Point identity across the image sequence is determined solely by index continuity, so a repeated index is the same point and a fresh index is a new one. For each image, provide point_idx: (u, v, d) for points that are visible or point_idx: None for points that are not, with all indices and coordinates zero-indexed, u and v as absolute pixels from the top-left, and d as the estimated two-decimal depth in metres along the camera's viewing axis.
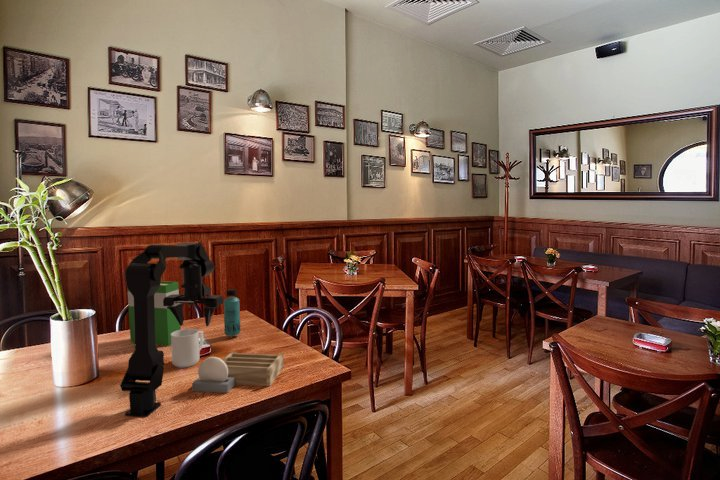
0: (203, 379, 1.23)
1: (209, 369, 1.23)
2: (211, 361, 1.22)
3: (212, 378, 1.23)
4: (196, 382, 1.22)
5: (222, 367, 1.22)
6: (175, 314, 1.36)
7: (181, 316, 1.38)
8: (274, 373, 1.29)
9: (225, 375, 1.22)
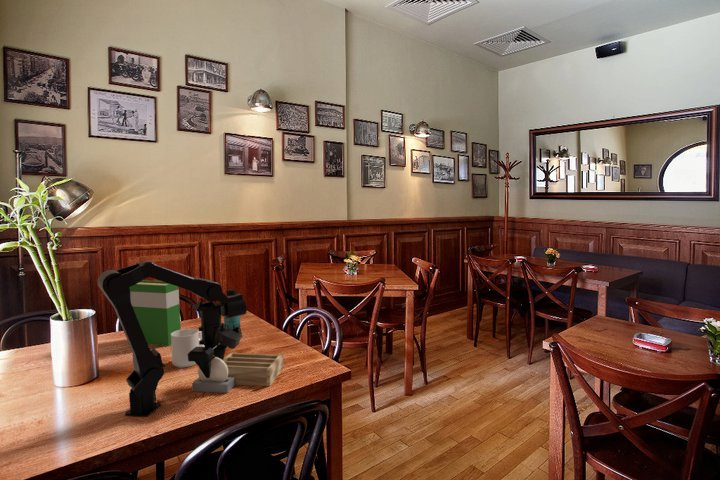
0: (203, 379, 1.23)
1: None
2: (211, 361, 1.22)
3: (212, 378, 1.23)
4: (196, 382, 1.22)
5: (222, 367, 1.22)
6: None
7: (219, 356, 1.27)
8: (274, 373, 1.29)
9: (225, 375, 1.22)
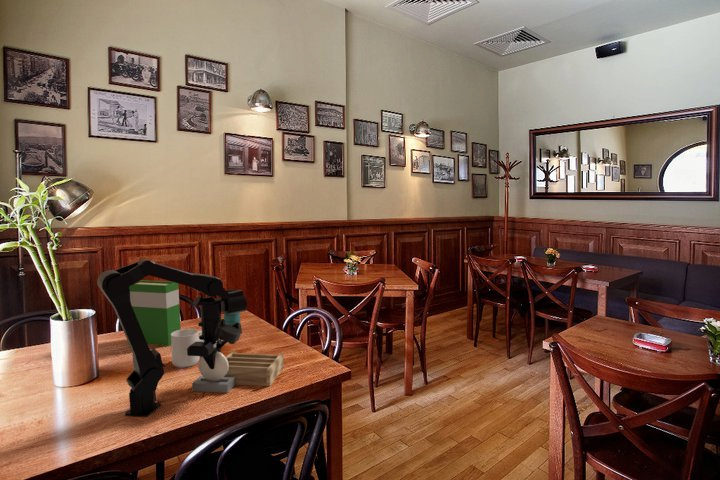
0: (203, 373, 1.23)
1: None
2: None
3: (212, 372, 1.23)
4: (196, 382, 1.22)
5: (222, 361, 1.22)
6: None
7: None
8: (274, 373, 1.29)
9: (225, 369, 1.22)
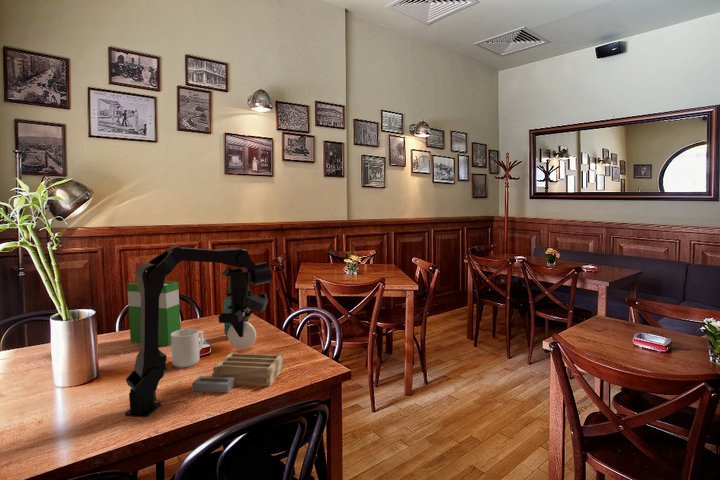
0: (232, 342, 1.30)
1: None
2: None
3: (241, 341, 1.29)
4: (196, 382, 1.22)
5: (250, 330, 1.28)
6: None
7: None
8: (274, 373, 1.29)
9: (253, 338, 1.29)
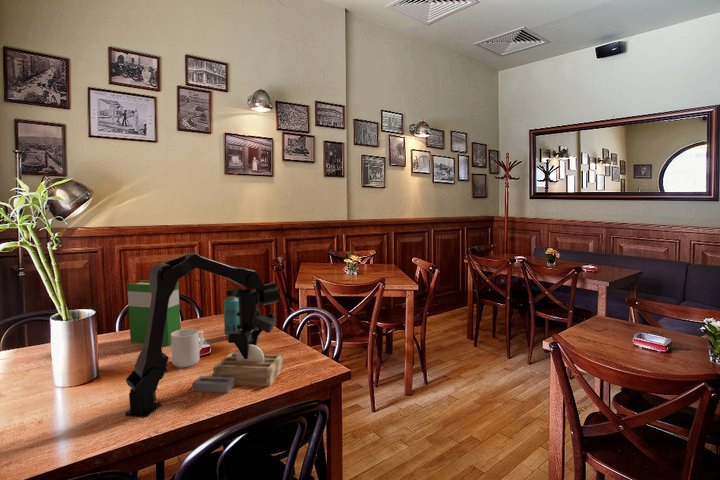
0: None
1: None
2: None
3: None
4: (196, 382, 1.22)
5: (258, 354, 1.31)
6: None
7: (252, 342, 1.35)
8: (274, 373, 1.29)
9: None
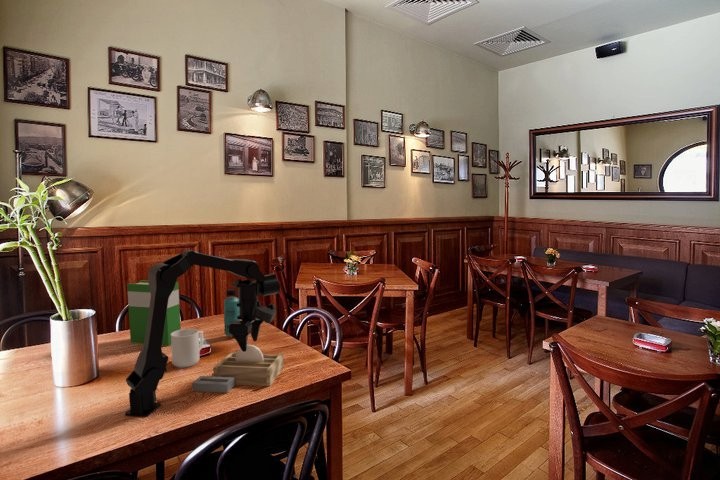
0: None
1: (246, 356, 1.32)
2: (247, 348, 1.31)
3: None
4: (196, 382, 1.22)
5: (257, 354, 1.31)
6: None
7: (254, 332, 1.36)
8: (274, 373, 1.29)
9: (261, 361, 1.31)
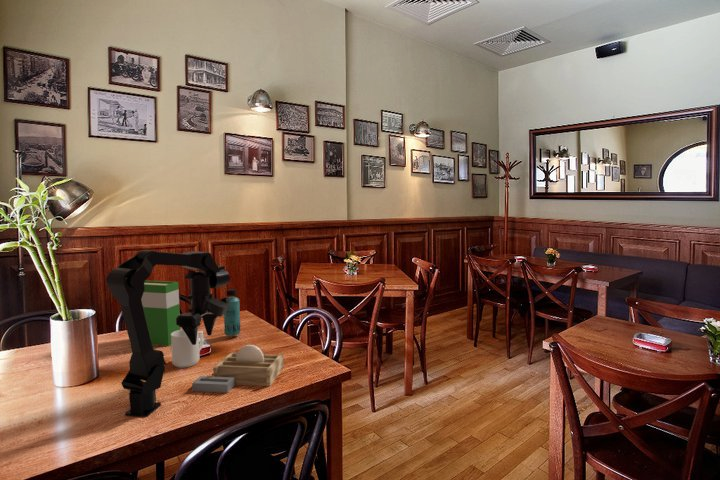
0: None
1: (246, 356, 1.32)
2: (248, 348, 1.31)
3: None
4: (196, 382, 1.22)
5: (258, 354, 1.31)
6: None
7: (208, 326, 1.34)
8: (274, 373, 1.29)
9: None
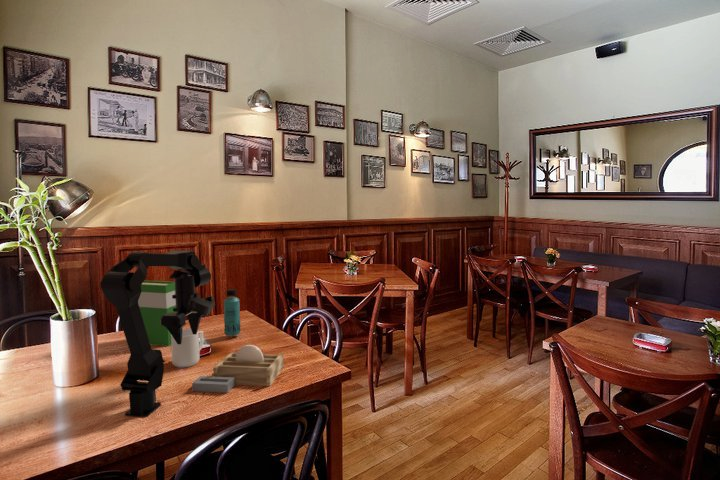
0: None
1: (246, 356, 1.32)
2: (247, 348, 1.31)
3: None
4: (196, 382, 1.22)
5: (257, 354, 1.31)
6: None
7: (194, 325, 1.33)
8: (274, 373, 1.29)
9: (261, 361, 1.31)
